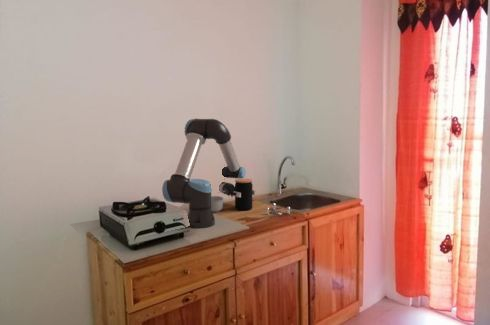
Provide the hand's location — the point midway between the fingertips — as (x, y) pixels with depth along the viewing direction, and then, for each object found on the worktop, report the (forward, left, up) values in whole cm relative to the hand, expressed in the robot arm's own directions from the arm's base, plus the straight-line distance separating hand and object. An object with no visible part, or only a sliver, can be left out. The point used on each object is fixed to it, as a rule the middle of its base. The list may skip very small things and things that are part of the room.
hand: (247, 194), depth 228 cm
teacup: (-18, +12, -10) cm, 24 cm away
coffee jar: (0, +4, -10) cm, 11 cm away
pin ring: (+8, -15, -10) cm, 20 cm away
